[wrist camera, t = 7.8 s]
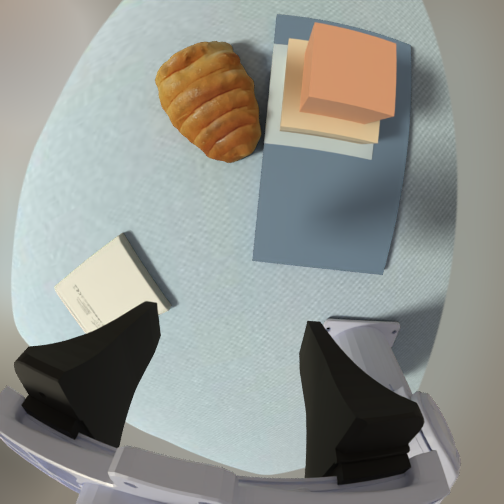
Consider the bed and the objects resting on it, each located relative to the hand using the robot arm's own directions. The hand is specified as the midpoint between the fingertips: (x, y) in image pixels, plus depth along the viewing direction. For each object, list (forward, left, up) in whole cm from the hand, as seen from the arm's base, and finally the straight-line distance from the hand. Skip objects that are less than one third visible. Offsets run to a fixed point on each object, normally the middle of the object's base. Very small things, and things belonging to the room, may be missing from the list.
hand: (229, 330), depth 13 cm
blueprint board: (+10, -6, -10) cm, 15 cm away
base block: (+13, -4, -10) cm, 16 cm away
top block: (+13, -4, -6) cm, 15 cm away
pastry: (+12, +4, -11) cm, 17 cm away
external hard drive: (-6, +14, -11) cm, 19 cm away
